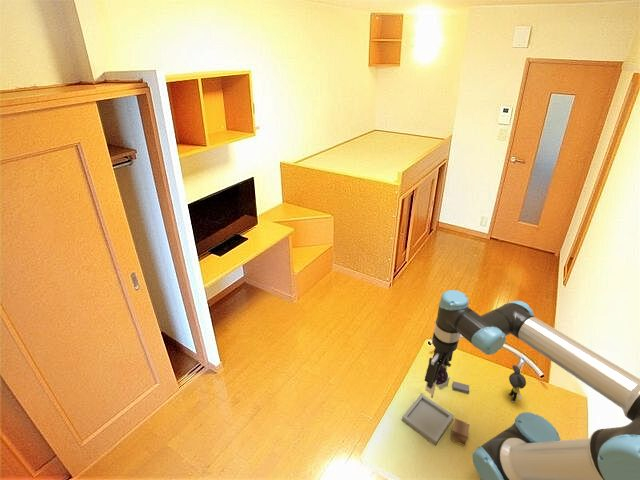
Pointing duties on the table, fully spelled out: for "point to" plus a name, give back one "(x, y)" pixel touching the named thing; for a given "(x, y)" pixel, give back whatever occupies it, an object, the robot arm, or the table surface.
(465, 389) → the rubber eraser
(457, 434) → the walnut cube
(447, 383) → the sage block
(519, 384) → the toy
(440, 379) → the lollipop
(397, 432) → the table surface
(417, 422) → the tray
